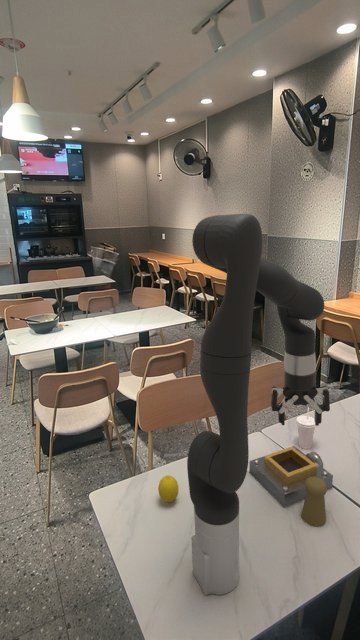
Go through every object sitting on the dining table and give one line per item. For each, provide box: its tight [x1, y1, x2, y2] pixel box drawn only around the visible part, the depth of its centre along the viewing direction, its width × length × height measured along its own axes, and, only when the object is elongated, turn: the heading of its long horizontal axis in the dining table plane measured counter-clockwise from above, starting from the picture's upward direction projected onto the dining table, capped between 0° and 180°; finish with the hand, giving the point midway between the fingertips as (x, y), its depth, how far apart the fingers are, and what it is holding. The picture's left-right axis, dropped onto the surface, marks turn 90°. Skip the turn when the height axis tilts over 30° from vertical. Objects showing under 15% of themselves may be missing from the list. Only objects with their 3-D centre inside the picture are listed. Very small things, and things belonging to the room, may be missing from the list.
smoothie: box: [295, 407, 316, 450], centre depth 122 cm, size 6×6×14 cm
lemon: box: [157, 474, 179, 503], centre depth 100 cm, size 6×6×8 cm
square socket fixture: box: [248, 445, 334, 509], centre depth 107 cm, size 19×16×6 cm
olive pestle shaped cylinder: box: [301, 477, 328, 528], centre depth 93 cm, size 6×6×11 cm
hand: (299, 423), depth 96 cm, fingers open, 8 cm apart
